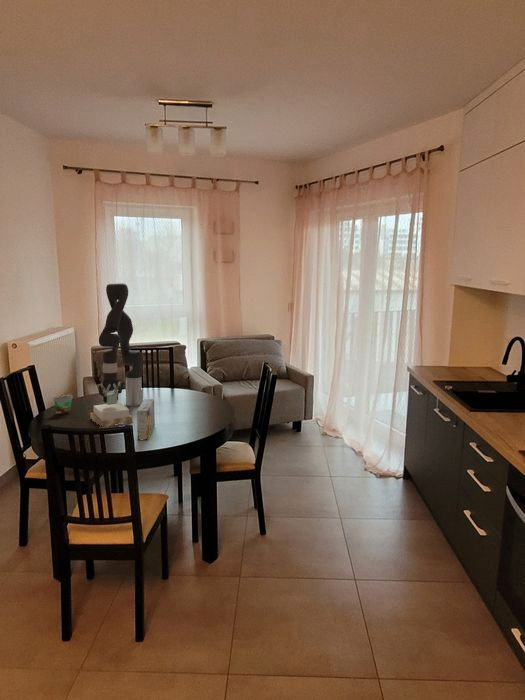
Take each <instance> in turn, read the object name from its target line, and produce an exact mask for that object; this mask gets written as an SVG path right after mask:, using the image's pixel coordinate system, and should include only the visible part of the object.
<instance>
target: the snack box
mask: <svg viewBox="0 0 525 700" xmlns="http://www.w3.org/2000/svg"><path fill="white" fill-rule="evenodd" d="M155 419H156V418H155V398H143V402H142V404H141V405H139V406H138V408H137V410H136V422H137V425H136V427H137V440H138V439H148V438H149V439H150V437H151V435H150V434H152V433H153V431H152V430H154V429H155V427H154V426H156V423H155V422H156V421H155ZM153 428H154V429H153ZM151 432H152V433H151ZM149 436H150V437H149ZM149 439H148V440H149Z"/></svg>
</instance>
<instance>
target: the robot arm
mask: <svg viewBox="0 0 525 700" xmlns="http://www.w3.org/2000/svg"><path fill="white" fill-rule="evenodd" d="M105 291H106V292H105V293H106V296H107V300H108V302H109V305H110V308H111V310H110V311H109V312H108V313H107V316H106V319H105V324H104V327H103V329H102V331H101V333H100V335H99V338H98V343H99V345H100V347H102V348H103V347H105V348H106V347H107V348H112V349H110V350H106V351H103V353H102V382H101V383H99V384H98V383H97V384H96V387H97V391H98V394H99V395H100V396H102V402H103V403H104V404H106V403H107V393H109V391H111V390H113V393H115V394H117V401H119V394H122V392H123V388H124V383H125V405H126V407H127V406H128V407H137V406H138V407H140V405H141V404H142V402H143V401H144V389H143V387H142V373H143V363H144V362H143V361H144V357H143V356H144V355H143V353H142V351H139V350H131V347H130V340H131V338H132V335H133V332H134V326H133V321H132V319H131V317H130V316H129V315H128V314H127V312H126V311H124V309H125V305H126V303H127V301H128V297H129V288H128V285H127V283H124V282H119V283H109V284H107V285H106V287H105ZM119 346H120V355H121V360H122V362H123V364H124V365H126V366H131V367H132V369H131V370H128V371H126V372H125V382H123V381H119V378H118V377H119V374H118V372H119V371H118V369H119V368H118V352H119V350H118V349H119ZM103 387H104V388H103ZM117 387H118V388H117Z"/></svg>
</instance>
